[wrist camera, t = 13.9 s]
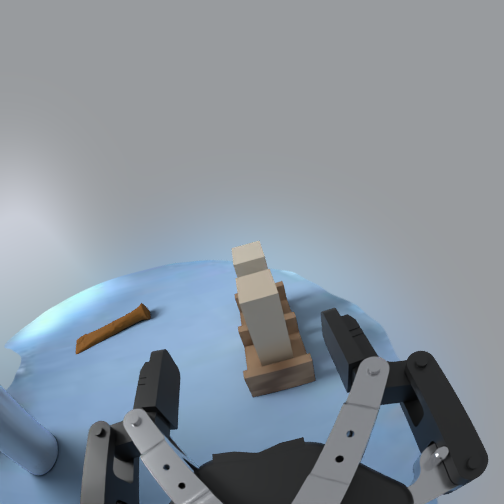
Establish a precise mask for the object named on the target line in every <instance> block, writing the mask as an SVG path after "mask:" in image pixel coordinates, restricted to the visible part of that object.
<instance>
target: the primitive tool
mask: <svg viewBox="0 0 504 504" xmlns="http://www.w3.org/2000/svg"><path fill="white" fill-rule="evenodd" d="M150 317H151V316H150V311H149V310H148V308H147V307H146V306H145V305H144V304H142V303H141V304H140V306H139V307H138V308H137V309H135V310H133V311H132V312H131V313H128V314H126V315H125V316H123V317H121V318H119V319H117V320H115V321H113V322H112V323H110V324H108V325H106V326H104V327H102V328H100V329H98V330H96V331H93V332H91V333H89V334H85V335H83V336H82V337H80V338H79V339H77V344H76V354H79V353H81V352H83V351H85V350H86V349H88V348H90V347H92V346H94V345H95V344H97V343H99V342H101V341H103V340H105V339H106V338H109V337H111V336H113V335H114V334H116V333H118V332H120V331H122V330H124V329H125V328H127V327H129V326H131V325H133V324H135V323H137V322H139V321H141V320H145V319H146V320H147V319H150Z"/></svg>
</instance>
